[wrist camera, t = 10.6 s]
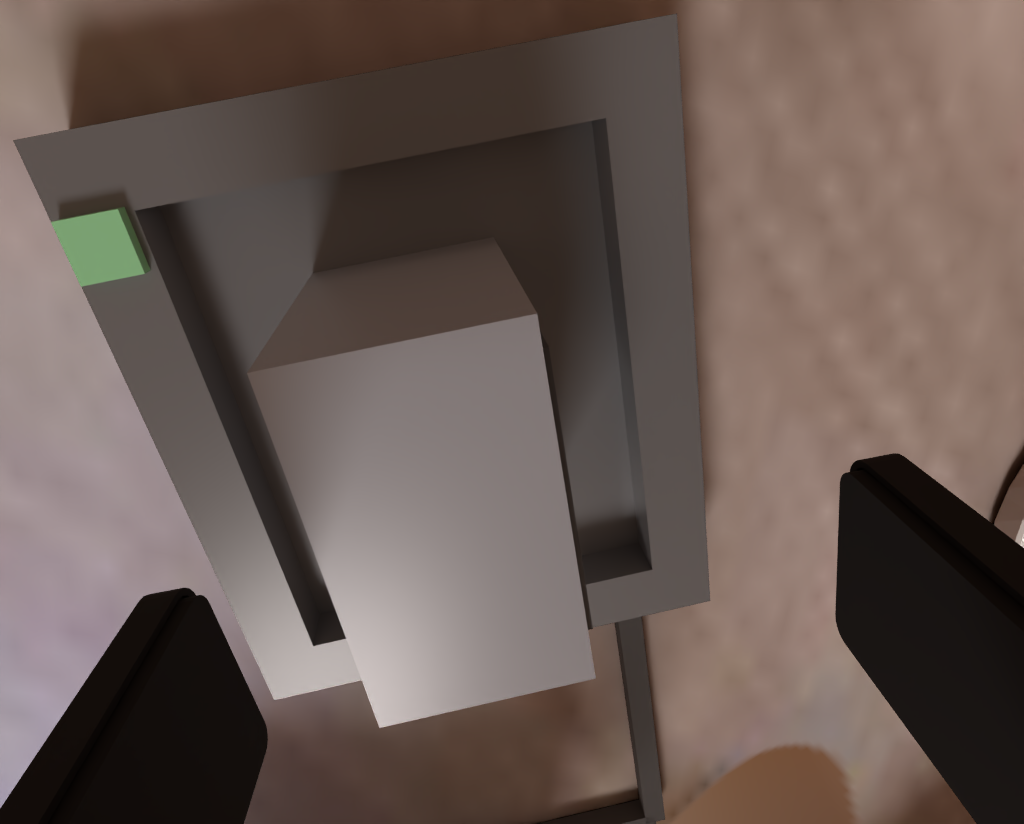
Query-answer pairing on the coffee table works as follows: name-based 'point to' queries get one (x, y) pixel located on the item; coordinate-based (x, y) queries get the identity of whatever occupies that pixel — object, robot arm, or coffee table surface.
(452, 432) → the grey rectangular block
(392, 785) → the coffee table surface
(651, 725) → the dark piece
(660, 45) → the charging cradle
